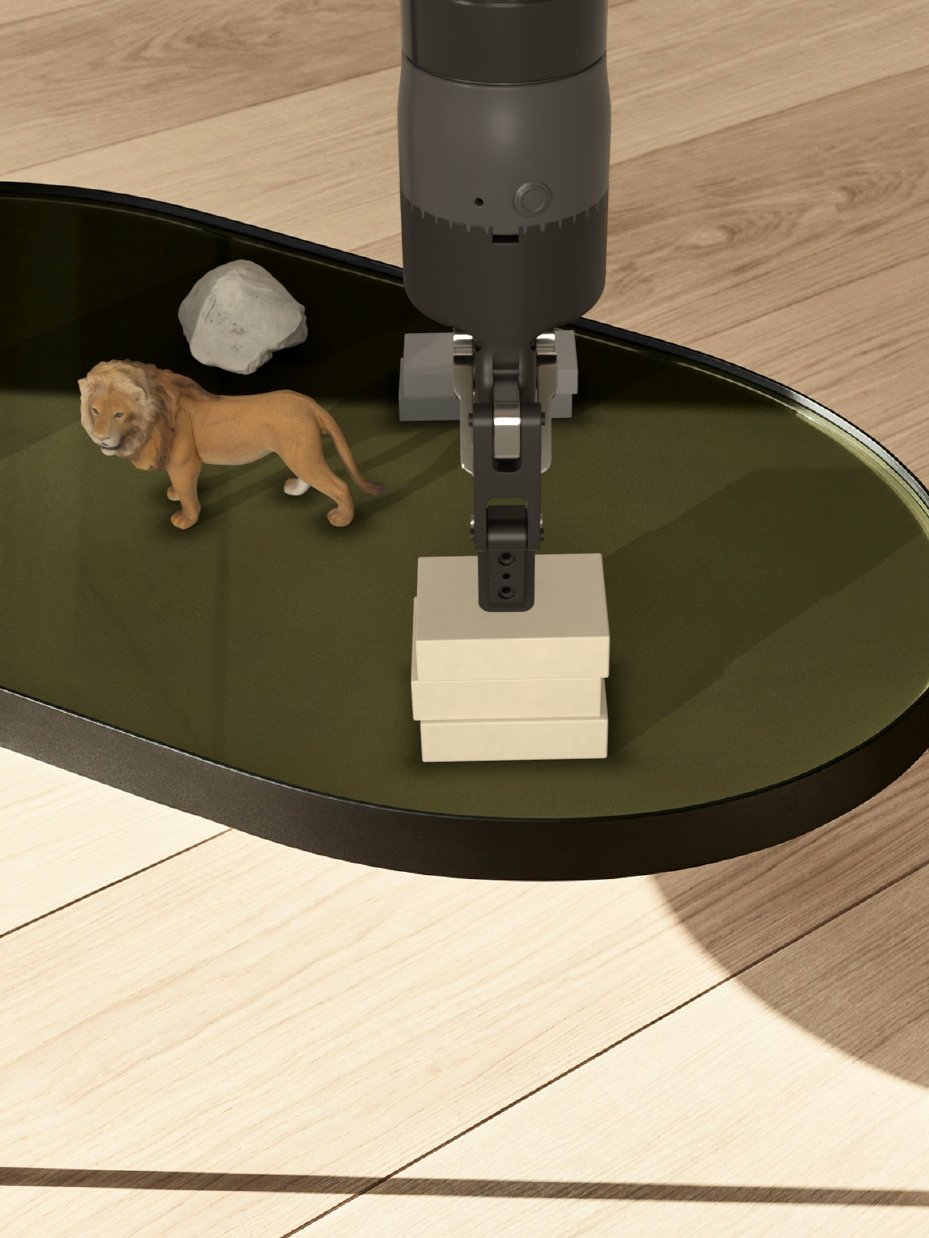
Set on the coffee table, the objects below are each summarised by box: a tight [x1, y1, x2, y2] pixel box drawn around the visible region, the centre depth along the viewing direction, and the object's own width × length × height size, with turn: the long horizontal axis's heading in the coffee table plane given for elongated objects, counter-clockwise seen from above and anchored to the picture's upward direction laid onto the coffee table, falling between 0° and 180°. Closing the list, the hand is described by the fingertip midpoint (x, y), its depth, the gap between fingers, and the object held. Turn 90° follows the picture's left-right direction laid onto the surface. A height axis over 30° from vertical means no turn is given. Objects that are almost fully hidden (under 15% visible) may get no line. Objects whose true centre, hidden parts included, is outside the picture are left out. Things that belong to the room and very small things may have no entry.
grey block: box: [398, 329, 579, 422], centre depth 102 cm, size 10×4×3 cm, turn 91°
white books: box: [410, 596, 609, 763], centre depth 81 cm, size 8×6×4 cm
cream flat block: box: [415, 552, 611, 682], centre depth 79 cm, size 8×6×2 cm
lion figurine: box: [77, 358, 387, 530], centre depth 92 cm, size 15×5×9 cm, turn 98°
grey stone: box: [177, 259, 308, 375], centre depth 106 cm, size 9×8×5 cm
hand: (504, 544), depth 76 cm, fingers open, 8 cm apart
